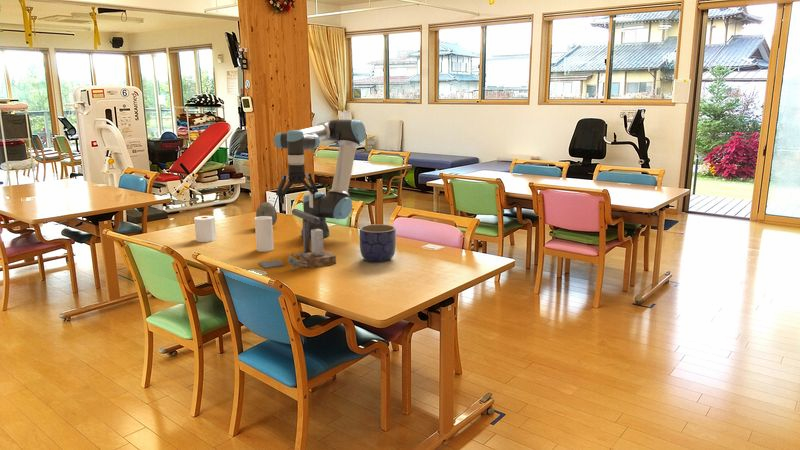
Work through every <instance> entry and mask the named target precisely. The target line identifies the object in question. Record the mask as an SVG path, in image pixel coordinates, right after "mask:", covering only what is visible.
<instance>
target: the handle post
mask: <svg viewBox="0 0 800 450" xmlns="http://www.w3.org/2000/svg"><path fill="white" fill-rule="evenodd" d="M302 227H303V237H302V243H303V252H297V253H295V257H297V258H299V259H300V254H303V253H309V252H312V250H311V238H309V221H306V222H305V221H303V220H302Z"/></svg>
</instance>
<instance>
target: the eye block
mask: <svg viewBox="0 0 800 450" xmlns="http://www.w3.org/2000/svg"><path fill="white" fill-rule="evenodd" d="M323 250H324V256H319V257H313V256H312V252H309V253H303V252H302V253H303V254H300V258H299V259H300V260H299V261H303V262H306V264H305V265H307V267H309V268H312V269H313V268H317V267H323V266H328V265H329V266H330V265H335V264H336V263H337V260H336V259H337V258H336V257H337V256H336V255H335V254H332V253H331V252H328V251H327V250H325V249H323Z"/></svg>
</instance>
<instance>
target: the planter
mask: <svg viewBox="0 0 800 450" xmlns="http://www.w3.org/2000/svg"><path fill="white" fill-rule="evenodd" d="M358 236H359V250H360V255H361V256H362V258H363V259H364V260H366V261H367V262H371V263H386V262H388V261H390V260H391V259H392V258H393V257H394V255H395V253H396V249H397V248H396V247H397V241H396V240H397V231H396V227H395V226H394V225H390V224H382V223H380V224H379V223H378V224H377V223H375V224H373V223H372V224H367V225H366V224H365V225H362V226H360V227H359V235H358Z"/></svg>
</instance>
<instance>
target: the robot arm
mask: <svg viewBox="0 0 800 450" xmlns="http://www.w3.org/2000/svg"><path fill="white" fill-rule="evenodd" d="M366 136H367V131H366V126H365V124H364V122H363V121H361V120H360V119H332V120H327V121H324V122H320V123H318V124H317V125H315V126H310V127H307V128H302V129H294V130H293V129H292V130H288V131H287V132H277V133H276V134H275V135H274V137H273V145H274V146H275V147H276V148H277V149H282V150H283V149H287V163H288V165H287V167H288V169H287V171H288V175H285V174H282V176H281V181H280V182H279V185H278V187H277V190H276V193H275V195H276V196H278V197H279V199H280V200H279V201H280V202H279V203H280V204H281V206H282V211H284V212H285V211H286V212H287V200H286V198H287V197H286V196H285V195H286V194H287V192H288V191H289V190H290V188H291V187H292V186H294V185H303V186H304V187H305V189H306V190H307V191H308V192H309V193H307V194H304V196H303V198H302V199H303V201H302V204H303V207H302V208H303V212H306V213H308V214H311V215H313V216H316V217H318V218H320V223H319V224H314V223H312V222H309V239H311V230H313V229H321V230H323V239H324V238H327V237H329V236H330V227H328V223H327V219H335V220H346V219H347V218H348V217H349V216H350V215H351V213H352V210H353V201H352V199H351V198H350V196H351V195H350V193H349V192H348V191H349V187H350V182H351V178H352V177H351V176H352V171H353V166H354V161H355V156H356V150H357V149H358V148H359V147H360V144H361V143H364V141H365V140H366ZM326 141H331V142H332V141H333V142H337V144H338V146H339V149H338V154H337V159H336V163H335V164H336V165H335V170H334V174H333V175H334V176H333V181H332V186H331V189H329V190H328V191H327V195H326V193H325V192H321V191H320V192H319V189H318V188H317V186H316V184H315V181H314V180H313V177H312V174H311V173H309V172H307V173H306V169H305V168H306V166H305V151H308V150H315V149H317V148H319V146H320V143H321V142H326ZM305 178H306V179H307V181H308V183H309V184H310V185H309V184H308V183H307V181H306V180H305ZM288 179H289V180H288ZM287 180H288V182H287ZM286 182H287V184H286ZM300 234H301V237H302V238H303V226H302V228H301V231H300Z"/></svg>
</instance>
